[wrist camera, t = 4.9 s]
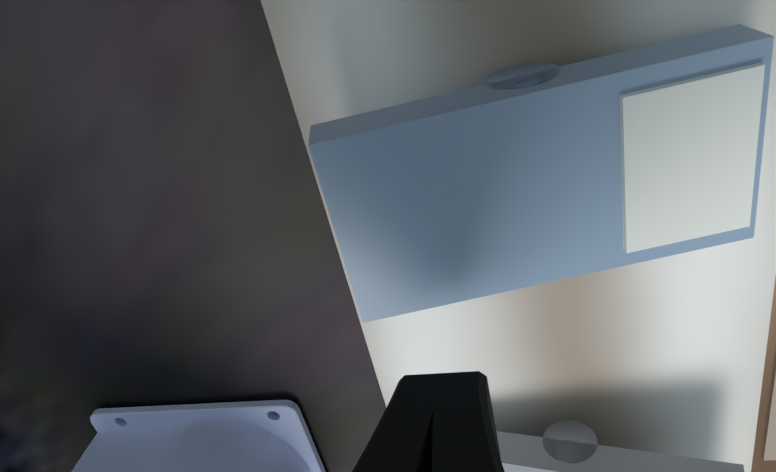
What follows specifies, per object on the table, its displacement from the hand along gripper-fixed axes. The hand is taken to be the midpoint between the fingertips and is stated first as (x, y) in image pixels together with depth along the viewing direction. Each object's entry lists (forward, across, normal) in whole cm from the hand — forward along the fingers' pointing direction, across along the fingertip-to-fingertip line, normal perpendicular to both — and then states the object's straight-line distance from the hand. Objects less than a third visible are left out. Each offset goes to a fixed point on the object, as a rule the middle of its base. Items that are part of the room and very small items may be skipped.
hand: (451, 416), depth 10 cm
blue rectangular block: (+5, -2, -2) cm, 6 cm away
